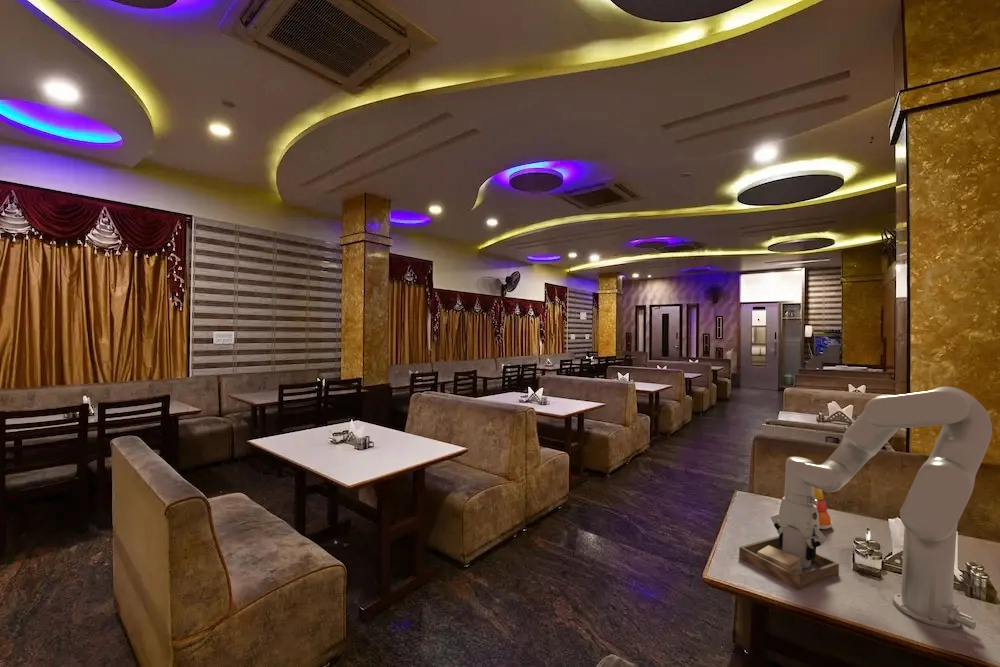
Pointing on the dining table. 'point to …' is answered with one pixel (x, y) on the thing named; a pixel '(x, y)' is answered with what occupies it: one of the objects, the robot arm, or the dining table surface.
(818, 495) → the stacking toy
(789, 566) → the offcut stack
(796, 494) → the robot arm
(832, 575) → the wooden frame
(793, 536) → the can
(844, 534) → the dining table surface
